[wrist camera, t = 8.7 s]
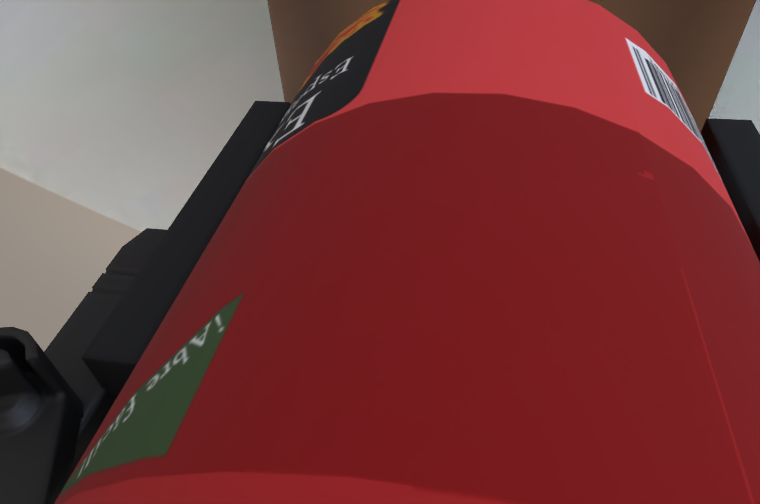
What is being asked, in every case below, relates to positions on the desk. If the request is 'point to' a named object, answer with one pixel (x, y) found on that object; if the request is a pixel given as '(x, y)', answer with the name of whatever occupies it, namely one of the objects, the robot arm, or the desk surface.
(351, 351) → the canned food
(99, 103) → the desk surface
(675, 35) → the step shelf
